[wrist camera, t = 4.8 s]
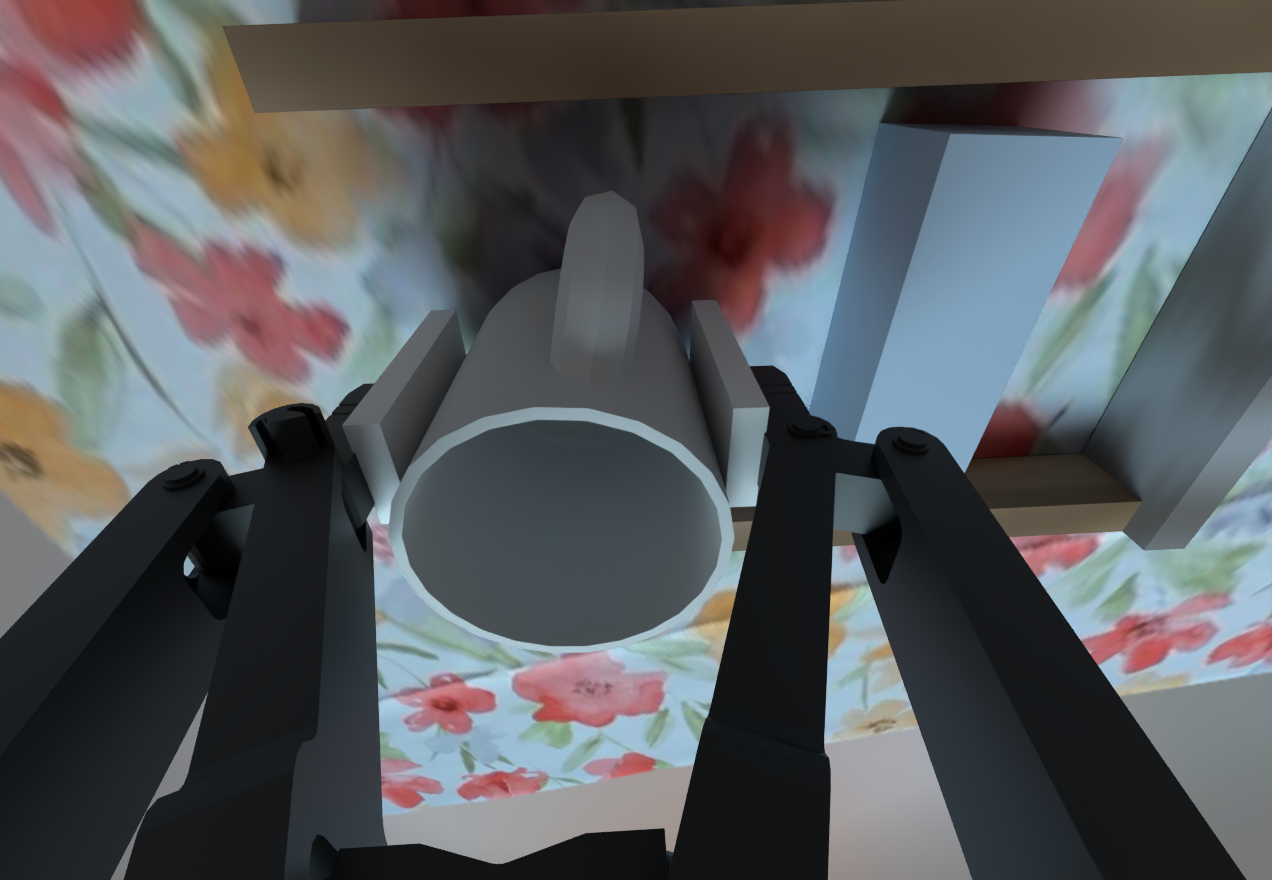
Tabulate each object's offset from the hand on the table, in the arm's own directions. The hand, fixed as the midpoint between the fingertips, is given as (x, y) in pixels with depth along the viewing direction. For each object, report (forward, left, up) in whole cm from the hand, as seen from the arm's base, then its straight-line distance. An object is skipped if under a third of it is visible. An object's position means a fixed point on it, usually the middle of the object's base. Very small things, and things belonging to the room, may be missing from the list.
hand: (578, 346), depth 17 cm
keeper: (0, +11, -2) cm, 11 cm away
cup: (0, 0, -1) cm, 1 cm away
